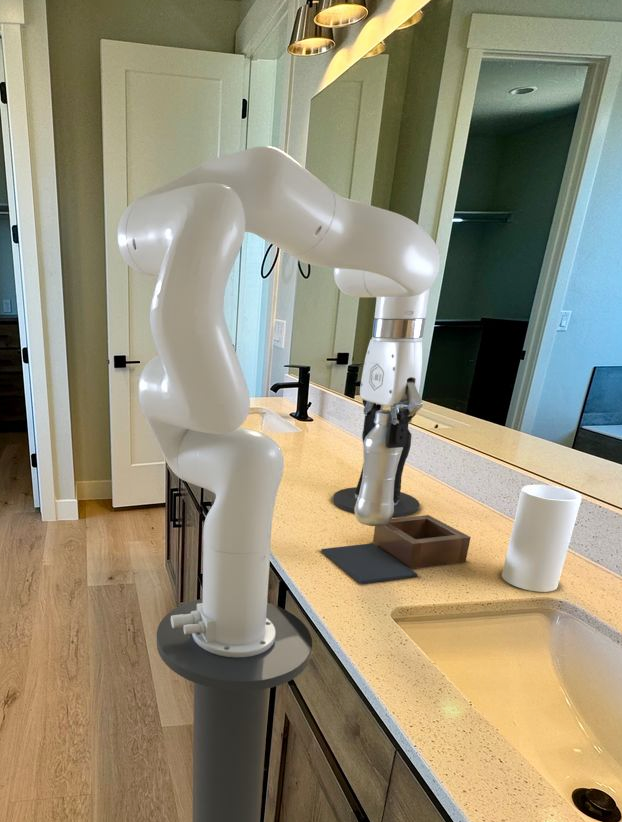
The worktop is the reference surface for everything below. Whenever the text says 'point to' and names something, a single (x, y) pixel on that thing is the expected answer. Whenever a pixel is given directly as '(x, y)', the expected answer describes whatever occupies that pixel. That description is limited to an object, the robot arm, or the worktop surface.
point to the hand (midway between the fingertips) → (383, 441)
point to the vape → (402, 501)
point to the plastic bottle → (377, 474)
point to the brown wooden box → (422, 541)
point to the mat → (368, 563)
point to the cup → (540, 537)
